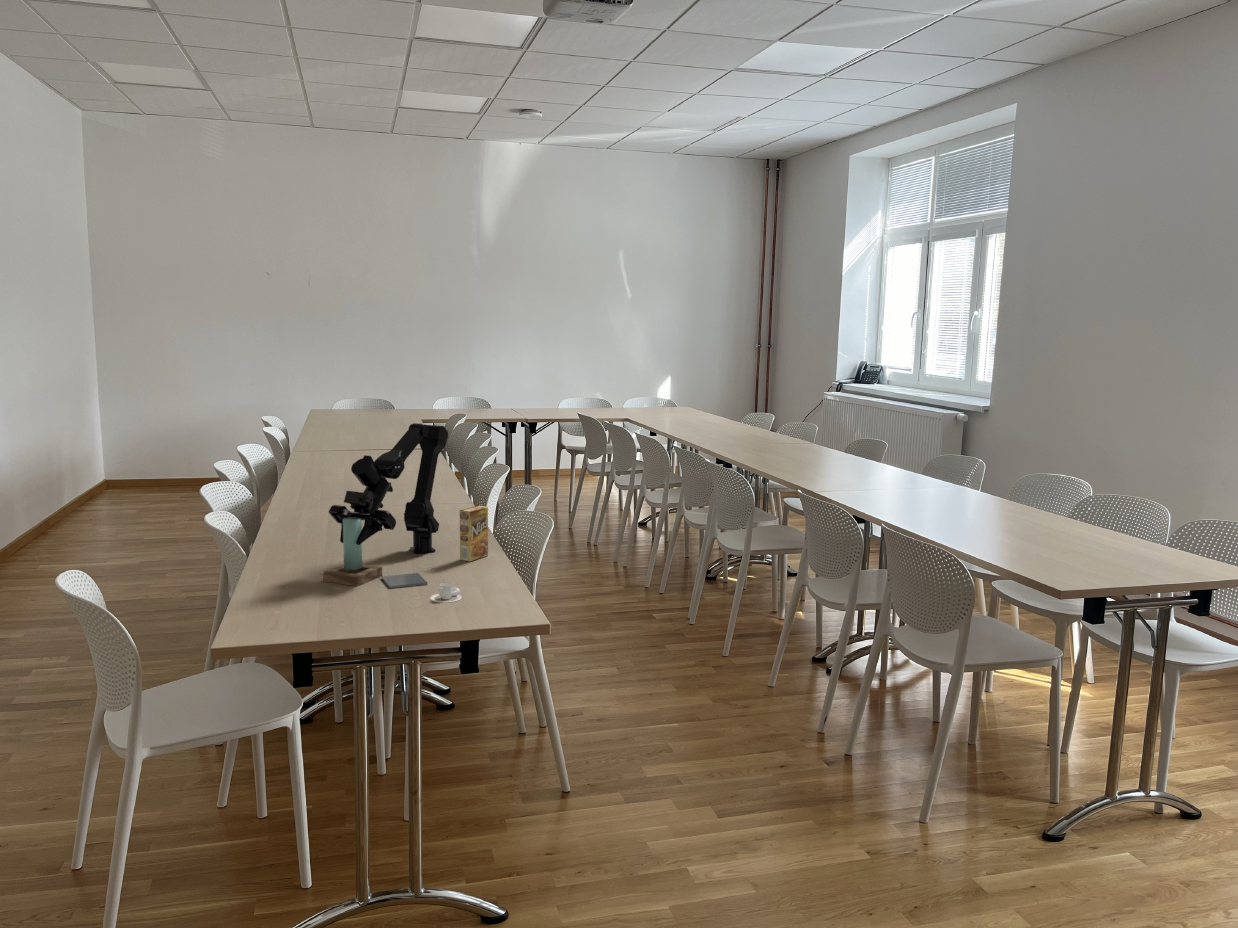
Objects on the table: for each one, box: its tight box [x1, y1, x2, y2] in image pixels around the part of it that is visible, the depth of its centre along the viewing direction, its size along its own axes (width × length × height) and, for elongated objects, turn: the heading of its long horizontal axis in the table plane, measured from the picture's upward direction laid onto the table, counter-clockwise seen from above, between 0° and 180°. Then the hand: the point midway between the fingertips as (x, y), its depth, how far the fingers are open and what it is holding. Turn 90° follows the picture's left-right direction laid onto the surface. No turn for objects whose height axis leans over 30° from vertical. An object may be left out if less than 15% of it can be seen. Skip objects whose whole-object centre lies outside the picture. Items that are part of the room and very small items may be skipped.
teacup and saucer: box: [429, 582, 462, 604], centre depth 222 cm, size 9×8×4 cm
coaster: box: [381, 572, 428, 590], centre depth 235 cm, size 10×10×1 cm
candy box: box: [459, 505, 489, 562], centre depth 260 cm, size 9×4×15 cm, turn 150°
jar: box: [342, 517, 363, 570], centre depth 235 cm, size 5×5×14 cm
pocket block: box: [322, 563, 383, 587], centre depth 236 cm, size 11×11×2 cm
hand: (349, 543), depth 234 cm, fingers closed on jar, 5 cm apart
